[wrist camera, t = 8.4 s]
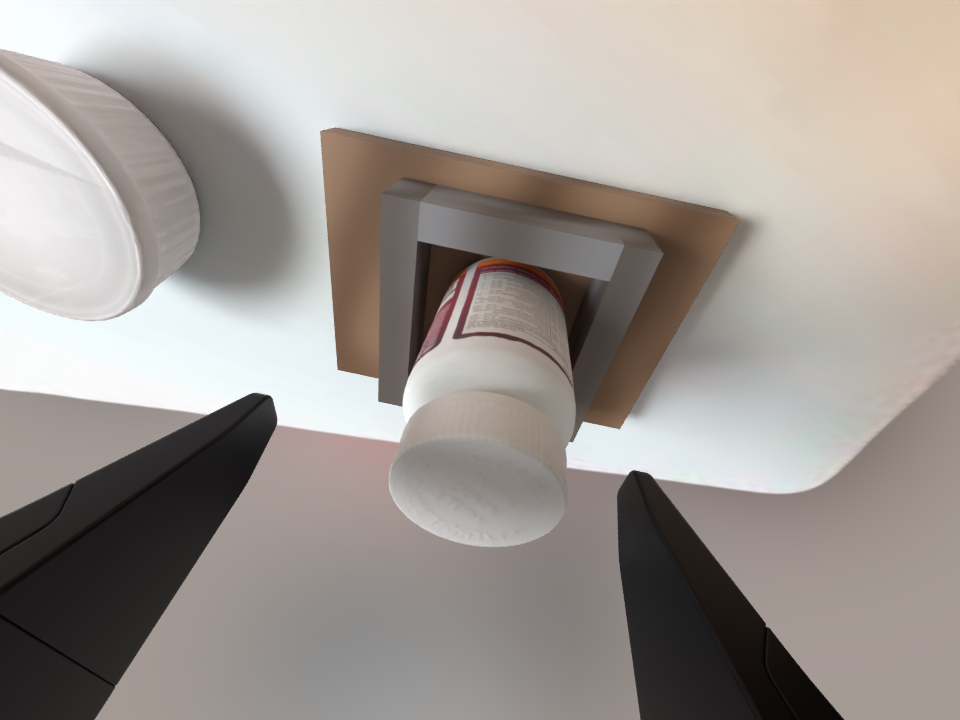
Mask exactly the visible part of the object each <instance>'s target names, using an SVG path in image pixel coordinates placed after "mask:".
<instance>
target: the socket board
mask: <svg viewBox="0 0 960 720" xmlns="http://www.w3.org/2000/svg"><path fill="white" fill-rule="evenodd" d="M320 134H321V147H322V161H323V175H324V188H325V202H326V216H327V230H328V243H329V257H330V271H331V284H332V298H333V312H334V325H335V339H336V353H337V366H338V370H341V371H346V372H351V373H356V374H360V375H365V376H370V377H375V378H379V393H378V401H379V402H383V403H388V404H393V405H398V406H403V395H404V391H405V387H406V384H407V380H408V378H409V375H410V373H411V371H412V368H413V366H414V365H415V362H416V359H417V357H418V355H419V352H420V350H421V348H422V346H423V344H424V341H425V339H426V337H427V335H428V332H429V330H430V328H431V325H432V323H433V321H434V319H435V316H436V314H437V312H438V310H439V307H440V305H441V303H442V300H443V298H444V296H445V293H446V292H447V290H448V288H449V286H450V284H451V283H452V281H453V280H454V279H455V277H456V276H457V275H458V274H459V273H460V272H461V271H462V270H464V269H465V268H466V267H468V266H469V265H471V264H473V263H475V262H477V261H480V260H483V259H487V258H491V257H496V258H501V259H505V260H510V261H515V262H519V263H524V264H529V265H533V266H537V267H539V268H540V269H541V270H543V271H544V272H545V273H546V274H547V275H548V276H549V277H550V278H551V279H552V281H553V282H554V283H555V285H556V287H557V288H558V290H559V293H560V295H561V298H562V302H563V307H564V312H565V322H566V330H567V338H568V346H569V354H570V361H571V369H572V377H573V386H574V396H575V403H576V417H575V426H574V430H573V434H572V437H571V439H570V441H569V442H573V441H574V439H575V437H576V435H577V432H578V430H579V428H580V426H581V424H582V422H583V421H584V422H588V423H593V424H598V425H603V426H607V427H612V428H617V429H620V428H621V426H622V424H623V423H624V421H625V419H626V418H627V416H628V414H629V412H630V411H631V409H632V407H633V405H634V404H635V402H636V400H637V398H638V397H639V395H640V393H641V392H642V390H643V388H644V386H645V385H646V383H647V381H648V379H649V378H650V376H651V374H652V372H653V371H654V369H655V367H656V366H657V364H658V362H659V360H660V359H661V357H662V355H663V353H664V352H665V350H666V348H667V346H668V345H669V343H670V341H671V340H672V338H673V336H674V334H675V333H676V331H677V329H678V327H679V326H680V324H681V322H682V320H683V319H684V317H685V315H686V314H687V312H688V310H689V308H690V307H691V305H692V303H693V301H694V300H695V298H696V296H697V295H698V293H699V291H700V289H701V288H702V286H703V284H704V282H705V281H706V279H707V277H708V275H709V274H710V272H711V270H712V269H713V267H714V265H715V263H716V262H717V260H718V258H719V256H720V255H721V253H722V251H723V249H724V248H725V246H726V244H727V243H728V241H729V239H730V237H731V236H732V234H733V232H734V230H735V229H736V227H737V225H738V223H739V222H740V220H738V219H737V218H735V217H734V216H732V215H731V214H729V213H728V212H727V211H723V210H719V209H714V208H709V207H705V206H700V205H695V204H691V203H686V202H681V201H677V200H672V199H667V198H663V197H658V196H653V195H649V194H644V193H639V192H634V191H630V190H625V189H620V188H616V187H611V186H606V185H602V184H597V183H592V182H588V181H583V180H578V179H574V178H569V177H564V176H560V175H555V174H550V173H546V172H541V171H536V170H532V169H527V168H522V167H518V166H513V165H508V164H504V163H499V162H494V161H490V160H485V159H480V158H475V157H471V156H466V155H461V154H457V153H452V152H447V151H443V150H438V149H433V148H429V147H424V146H419V145H415V144H410V143H405V142H401V141H396V140H391V139H387V138H382V137H377V136H373V135H368V134H363V133H359V132H354V131H349V130H345V129H340V128H331V129H327V130H323V131H320Z"/></svg>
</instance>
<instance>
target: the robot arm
mask: <svg viewBox="0 0 960 720" xmlns="http://www.w3.org/2000/svg"><path fill="white" fill-rule="evenodd" d="M276 425H277V415H276V411H275V407H274V402H273V399H272V397H271V396H269V395H265V394H260V393H252V394H249V395H247V396H245V397H243V398H241V399H239V400H237V401H235V402H233V403H231V404H229V405H227V406H225V407H223V408H221V409H219V410H217V411H215V412H213V413H211V414H209V415H207V416H206V417H203V418H201V419H199V420H197V421H195V422H193V423H191V424H189V425H187V426H185V427H183V428H181V429H179V430H177V431H175V432H173V433H171V434H169V435H167V436H165V437H163V438H161V439H159V440H157V441H155V442H153V443H151V444H149V445H147V446H145V447H143V448H141V449H139V450H137V451H135V452H133V453H131V454H129V455H127V456H125V457H123V458H121V459H119V460H117V461H115V462H113V463H111V464H109V465H107V466H105V467H103V468H101V469H99V470H97V471H95V472H93V473H91V474H89V475H87V476H85V477H83V478H81V479H79V480H77V481H76V482H75V484H74V483H71V484H69V485H67V486H65V487H62V488H60V489H58V490H57V491H55V492H53V493H50V494H49V495H47V496H44V497H42V498H40V499H38V500H36V501H34V502H32V503H30V504H28V505H26V506H24V507H22V508H20V509H17V510H15V511H13V512H11V513H9V514H7V515H5V516H2V517H0V720H94V719H95V718H96V717H97V715H98V713H99V712H100V710H101V709H102V707H103V706H104V704H105V703H106V701H107V700H108V698H109V697H110V695H111V693H112V692H113V690H114V689H115V685H117V684H118V682H119V681H120V679H121V678H122V676H123V674H124V673H125V671H126V670H127V668H128V667H129V665H130V664H131V662H132V661H133V659H134V657H135V656H136V654H137V653H138V651H139V650H140V648H141V647H142V645H143V644H144V642H145V640H146V639H147V637H148V636H149V634H150V633H151V631H152V629H153V628H154V627H155V625H156V623H157V622H158V620H159V619H160V617H161V616H162V614H163V613H164V611H165V610H166V608H167V606H168V605H169V603H170V602H171V600H172V599H173V597H174V596H175V594H176V593H177V591H178V589H179V588H180V586H181V585H182V583H183V582H184V580H185V579H186V577H187V576H188V574H189V572H190V571H191V569H192V568H193V566H194V565H195V563H196V562H197V560H198V559H199V557H200V556H201V554H202V552H203V551H204V549H205V548H206V546H207V545H208V543H209V541H210V540H211V539H212V537H213V535H214V534H215V532H216V531H217V529H218V528H219V526H220V524H221V523H222V521H223V520H224V518H225V517H226V515H227V514H228V512H229V511H230V509H231V508H232V506H233V505H234V503H235V501H236V500H237V498H238V497H239V495H240V494H241V492H242V491H243V489H244V487H245V486H246V484H247V483H248V480H249V479H250V477H251V475H252V473H253V471H254V469H255V467H256V465H257V463H258V461H259V460H260V457H261V455H262V454H263V452H264V450H265V448H266V446H267V444H268V442H269V440H270V438H271V435H272V433H273V432H274V430H275V428H276ZM617 511H618V549H619V563H620V572H621V579H622V586H623V594H624V601H625V608H626V616H627V623H628V631H629V638H630V645H631V653H632V659H633V667H634V675H635V682H636V688H637V696H638V704H639V711H640V718H641V720H844V719H843V718H842V717H841V715H840V714H839V713H838V712H837V711H836V710H835V708H834V707H833V706H832V705H831V704H830V703H829V701H828V700H827V699H826V698H825V697H824V695H823V694H822V693H821V692H820V691H819V689H818V688H817V687H816V686H815V685H814V684H813V682H812V681H811V680H810V679H809V678H808V676H807V675H806V674H805V673H804V671H803V670H802V669H801V668H800V666H799V665H798V664H797V663H796V661H795V660H794V659H793V658H792V656H791V655H790V654H789V653H788V651H787V650H786V649H785V648H784V646H783V645H782V644H781V642H780V641H779V640H778V638H777V637H776V636H775V635H774V633H773V632H772V631H771V629H770V628H769V627H766V624H765V622H764V621H763V619H762V618H761V617H760V615H759V614H758V613H757V612H756V610H755V609H754V608H753V606H752V605H751V604H750V603H749V601H748V600H747V599H746V597H745V596H744V595H743V593H742V592H741V591H740V590H739V588H738V587H737V586H736V585H735V583H734V582H733V581H732V579H731V578H730V577H729V576H728V574H727V573H726V571H725V570H724V569H723V568H722V566H721V565H720V564H719V562H718V561H717V560H716V559H715V557H714V556H713V555H712V553H711V552H710V551H709V550H708V548H707V547H706V546H705V544H704V543H703V542H702V541H701V539H700V538H699V537H698V535H697V534H696V533H695V531H694V530H693V529H692V528H691V526H690V525H689V524H688V522H687V521H686V520H685V519H684V517H683V516H682V515H681V513H680V512H679V511H678V509H677V508H676V507H675V506H674V504H673V503H672V502H671V500H670V499H669V498H668V497H667V495H666V494H665V493H664V492H663V490H662V489H661V488H660V486H659V485H658V484H657V482H656V481H655V480H654V478H653V477H652V476H651V475H650V474H648V473H645V472H640V471H635V470H633V471H631V472H630V473H629V474H628V476H627V477H626V479H625V481H624V482H623V484H622V485H621V487H620V488H619V491H618V494H617Z"/></svg>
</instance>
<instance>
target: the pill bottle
mask: <svg viewBox="0 0 960 720" xmlns="http://www.w3.org/2000/svg"><path fill="white" fill-rule="evenodd" d="M403 415H404V420H405V424H406V426H405V428H404V431H403V433H402V437H401V440H400V444H399V446H398V449H397V451H396V454H395V456H394V459H393V462H392V465H391V468H390V471H389V479H388V482H389V489H390V493H391V495H392V498H393V500H394V502H395V503H396V505H397V506H398V507H399V509H400V510H401V511H402V512H403V513H404V514H405V515H406V516H407V517H408V518H409V519H410V520H412V521H413V522H414V523H416V524H417V525H419V526H420V527H422V528H424V529H426V530H427V531H429V532H431V533H433V534H435V535H437V536H440V537H442V538H445V539H448V540H451V541H454V542H458V543H462V544H467V545H475V546H482V547H504V546H512V545H518V544H523V543H526V542H530V541H533V540H535V539H538V538H540V537H542V536H543V535H545V534H547V533H548V532H550V531H551V530H552V529H553V528H554V527H555V526H556V525H557V524H558V523H559V522H560V521H561V519H562V518H563V516H564V514H565V511H566V508H567V502H568V487H567V473H566V462H567V459H566V450H565V448H566V447H567V445H568V443H569V441H570V439H571V437H572V434H573V430H574V426H575V417H576V403H575V396H574V386H573V377H572V369H571V361H570V354H569V346H568V338H567V330H566V322H565V312H564V307H563V302H562V298H561V295H560V293H559V290H558V288H557V287H556V285H555V283H554V282H553V281H552V279H551V278H550V277H549V276H548V275H547V274H546V273H545V272H544V271H543V270H541V269H540V268H539V267H537V266H533V265H529V264H524V263H519V262H515V261H510V260H505V259H501V258H496V257H491V258H487V259H483V260H480V261H477V262H475V263H473V264H471V265H469V266H468V267H466V268H465V269H464V270H462V271H461V272H460V273H459V274H458V275H457V276H456V277H455V279H454V280H453V281H452V283H451V284H450V286H449V288H448V290H447V292H446V293H445V296H444V298H443V300H442V303H441V305H440V307H439V310H438V312H437V314H436V316H435V319H434V321H433V323H432V325H431V328H430V330H429V332H428V335H427V337H426V339H425V341H424V344H423V346H422V348H421V350H420V352H419V355H418V357H417V359H416V362H415V365H414V366H413V368H412V371H411V373H410V375H409V378H408V380H407V384H406V387H405V391H404V395H403Z"/></svg>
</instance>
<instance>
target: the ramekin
mask: <svg viewBox="0 0 960 720" xmlns="http://www.w3.org/2000/svg"><path fill="white" fill-rule="evenodd" d="M199 234H200V211H199V204H198V200H197V196H196V192H195V189H194V186H193V184H192V181H191V179H190V176H189V174H188V172H187V170H186V168H185V167H184V165H183V163H182V161H181V159H180V158H179V156H178V155H177V153H176V152H175V150H174V149H173V147H172V146H171V145H170V143H169V142H168V141H167V139H166V138H165V137H164V136H163V134H162V133H161V132H160V131H159V130H158V128H157V127H156V126H155V125H154V124H153V123H152V122H151V121H150V120H149V119H148V118H147V117H146V116H145V115H144V114H143V113H142V112H141V111H139V110H138V109H137V108H136V107H135V106H134V105H133V104H132V103H131V102H130V101H128V100H127V99H125V98H124V97H123V96H121V95H120V94H119V93H118V92H117V91H115V90H114V89H112V88H110V87H108V86H107V85H105V84H104V83H102V82H101V81H99V80H98V79H96V78H94V77H91V76H89V75H87V74H85V73H83V72H81V71H79V70H76V69H73V68H70V67H68V66H66V65H63V64H60V63H56V62H52V61H48V60H44V59H40V58H36V57H31V56H27V55H24V54H20V53H16V52H12V51H7V50H2V49H0V291H1V292H3V293H5V294H7V295H8V296H10V297H13V298H15V299H17V300H19V301H21V302H23V303H25V304H27V305H30V306H32V307H35V308H37V309H40V310H43V311H45V312H48V313H51V314H54V315H58V316H62V317H67V318H71V319H76V320H83V321H98V320H99V321H102V320H108V319H112V318H115V317H118V316H121V315H123V314H125V313H127V312H129V311H131V310H132V309H134V308H136V307H137V306H139V305H140V304H142V303H143V302H144V301H145V300H146V299H147V298H148V297H149V296H150V294H151V293H152V291H153V289H154V288H155V287H156V286H158V285H159V284H160V283H161V282H163V281H164V280H165V279H166V278H168V277H169V276H170V275H171V274H172V273H174V272H175V271H176V270H177V269H179V268H180V267H181V266H182V265H183V264H184V263H185V262H186V261H187V260H188V259H189V258H190V256H191V254H192V253H193V252H194V251H195V248H196V245H197V243H198V238H199Z"/></svg>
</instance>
